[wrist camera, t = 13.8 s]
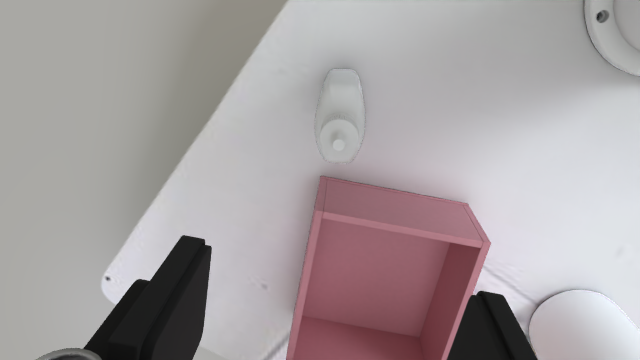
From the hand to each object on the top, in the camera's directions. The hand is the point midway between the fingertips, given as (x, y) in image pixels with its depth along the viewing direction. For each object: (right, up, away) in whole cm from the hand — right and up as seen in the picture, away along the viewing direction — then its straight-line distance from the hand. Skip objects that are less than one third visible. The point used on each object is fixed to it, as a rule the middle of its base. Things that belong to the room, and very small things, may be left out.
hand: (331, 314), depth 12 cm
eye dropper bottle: (+1, +10, +26) cm, 28 cm away
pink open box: (+5, -4, +31) cm, 32 cm away
